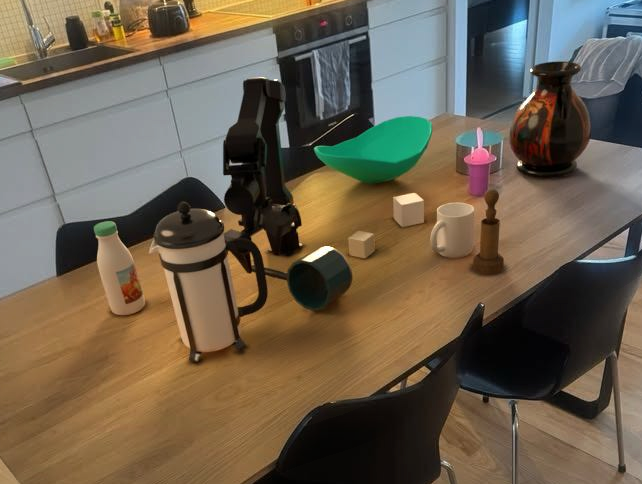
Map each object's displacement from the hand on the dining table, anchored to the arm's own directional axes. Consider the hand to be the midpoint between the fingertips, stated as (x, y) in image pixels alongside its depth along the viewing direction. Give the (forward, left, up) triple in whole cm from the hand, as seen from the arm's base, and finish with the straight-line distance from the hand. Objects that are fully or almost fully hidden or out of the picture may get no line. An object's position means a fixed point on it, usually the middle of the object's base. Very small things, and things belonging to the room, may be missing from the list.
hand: (263, 264), depth 147 cm
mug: (+27, +34, -8) cm, 45 cm away
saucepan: (+8, +7, -2) cm, 10 cm away
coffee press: (+3, -20, -8) cm, 21 cm away
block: (+8, +26, -8) cm, 29 cm away
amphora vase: (+28, +93, -8) cm, 98 cm away
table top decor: (-15, +70, -8) cm, 73 cm away
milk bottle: (-26, -19, -8) cm, 33 cm away
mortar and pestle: (+38, +31, -8) cm, 50 cm away
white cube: (+9, +47, -8) cm, 49 cm away
